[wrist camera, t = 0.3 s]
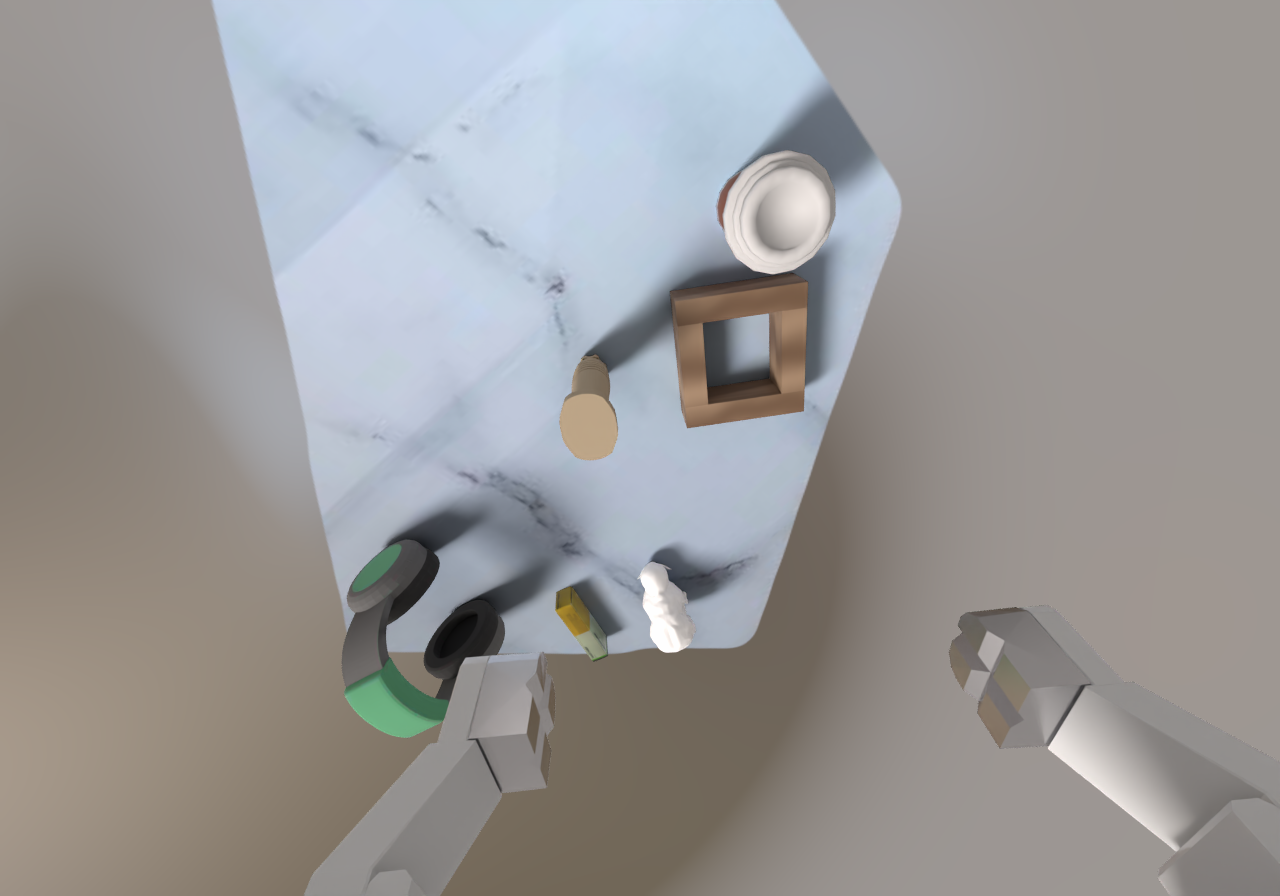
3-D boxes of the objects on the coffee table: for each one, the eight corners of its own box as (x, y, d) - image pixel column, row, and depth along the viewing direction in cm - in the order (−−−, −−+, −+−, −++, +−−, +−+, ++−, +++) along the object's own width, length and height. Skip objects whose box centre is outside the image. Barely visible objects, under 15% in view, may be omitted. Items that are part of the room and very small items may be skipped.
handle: (609, 336, 55) (611, 390, 42) (617, 390, 58) (621, 456, 45) (565, 342, 55) (553, 398, 42) (575, 396, 58) (568, 463, 45)
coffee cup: (787, 254, 52) (834, 277, 42) (699, 255, 52) (724, 279, 41) (801, 152, 48) (857, 149, 37) (705, 152, 47) (734, 149, 37)
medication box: (608, 635, 79) (609, 657, 75) (592, 641, 79) (592, 663, 75) (571, 584, 73) (571, 604, 69) (555, 590, 73) (553, 611, 70)
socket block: (669, 291, 53) (675, 301, 49) (792, 272, 53) (807, 281, 49) (681, 410, 60) (687, 428, 56) (790, 394, 60) (803, 411, 56)
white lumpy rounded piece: (656, 664, 69) (628, 599, 64) (653, 619, 77) (627, 558, 72) (701, 652, 68) (676, 585, 64) (693, 608, 76) (670, 545, 71)
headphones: (362, 556, 68) (279, 692, 50) (425, 519, 66) (361, 648, 48) (458, 636, 76) (415, 776, 59) (517, 606, 74) (490, 743, 57)
